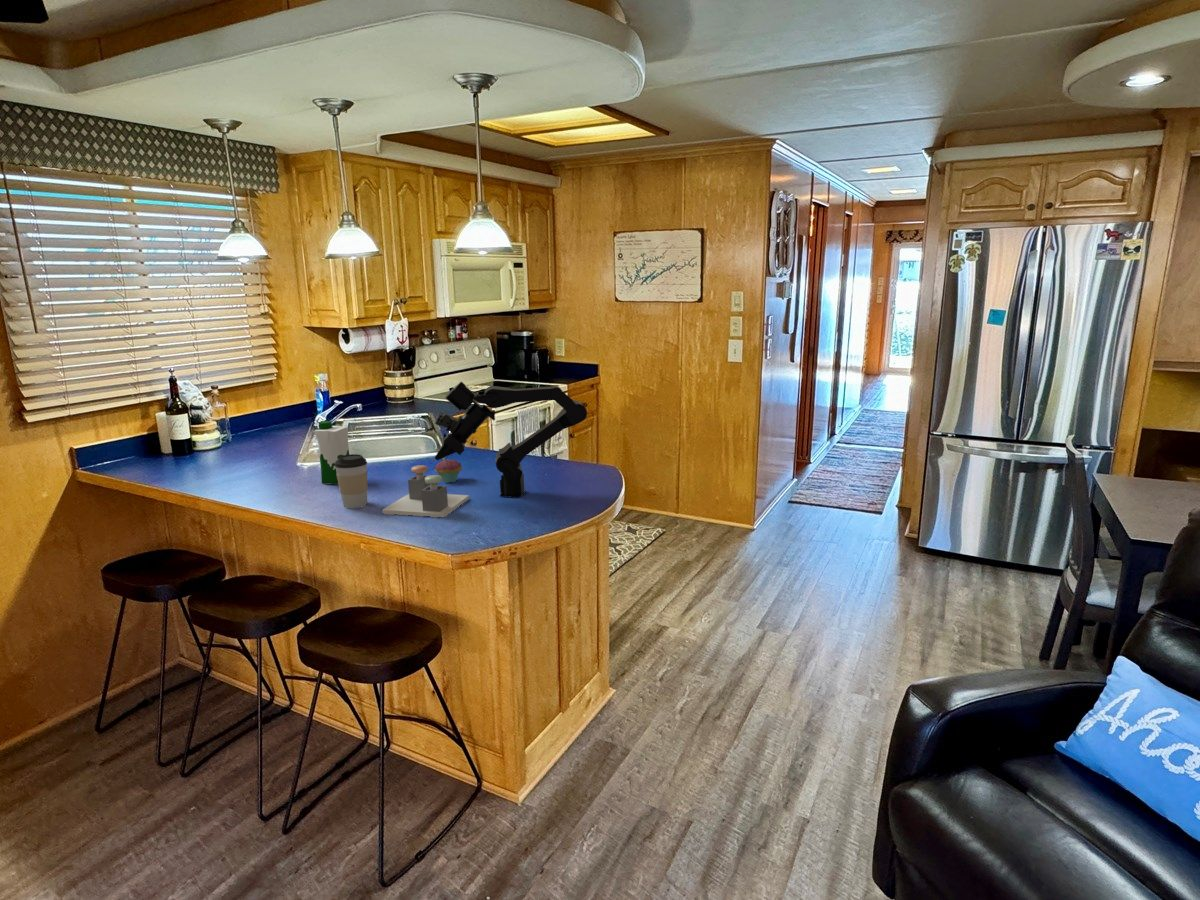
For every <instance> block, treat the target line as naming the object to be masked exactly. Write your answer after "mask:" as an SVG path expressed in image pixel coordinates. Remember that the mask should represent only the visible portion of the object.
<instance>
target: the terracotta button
mask: <svg viewBox="0 0 1200 900" xmlns="http://www.w3.org/2000/svg"><path fill="white" fill-rule="evenodd" d="M410 470H411V473H412V474H416V476H417V480H424V476H423V475H424V474H425V473H427V472H428V466H427V465H423V464H422V465H421V464H420V465H414V466H412V467H411V469H410Z"/></svg>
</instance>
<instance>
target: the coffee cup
mask: <svg viewBox="0 0 1200 900" xmlns="http://www.w3.org/2000/svg"><path fill="white" fill-rule="evenodd" d="M367 464H368V461H367V459H366V458H365V457H364V456H363V455H362V454H357V453H356V454H355V453H354V454H353V453H351V454H350V453H349V455H344V456H340V457H339V458H338V460H337V461H336V462H335V467H336V471H337V479H338V484H337V485H338V488H339V494H340V496H341V501H342V507H343V508H345V507H348V508H347V509H357V508H356V507H359V508H362V507H361V506H363V507H365V506H367V505H368V489H369V487H368V485H369V484H368V470H367V468H368V467H367V466H368V465H367ZM366 504H367V505H366ZM364 505H365V506H364Z"/></svg>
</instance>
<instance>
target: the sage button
mask: <svg viewBox="0 0 1200 900" xmlns="http://www.w3.org/2000/svg"><path fill="white" fill-rule="evenodd" d="M425 483H428V484H430V490H435V491H438V486H439V485H438V484H439V483H442V476H440V475H439V474H432V475H427V477H425ZM437 485H438V486H437Z"/></svg>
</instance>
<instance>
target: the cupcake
mask: <svg viewBox="0 0 1200 900" xmlns="http://www.w3.org/2000/svg"><path fill="white" fill-rule="evenodd" d="M441 446H442V445H440V448H441ZM434 469H435V472H436V473H437V475H440V476H442V481H441V483H443V482H446V483H445V484H450V483H449V482H452V483H456V482H457V481H458V476H459V474H460V472H461V471H462V470H463V466H462V463H460V462H459V461H458V460H456V459H446V457H444V458H442V460H440V461H439V462H437V464H436V465H435V466H434ZM456 480H457V481H456Z"/></svg>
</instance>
